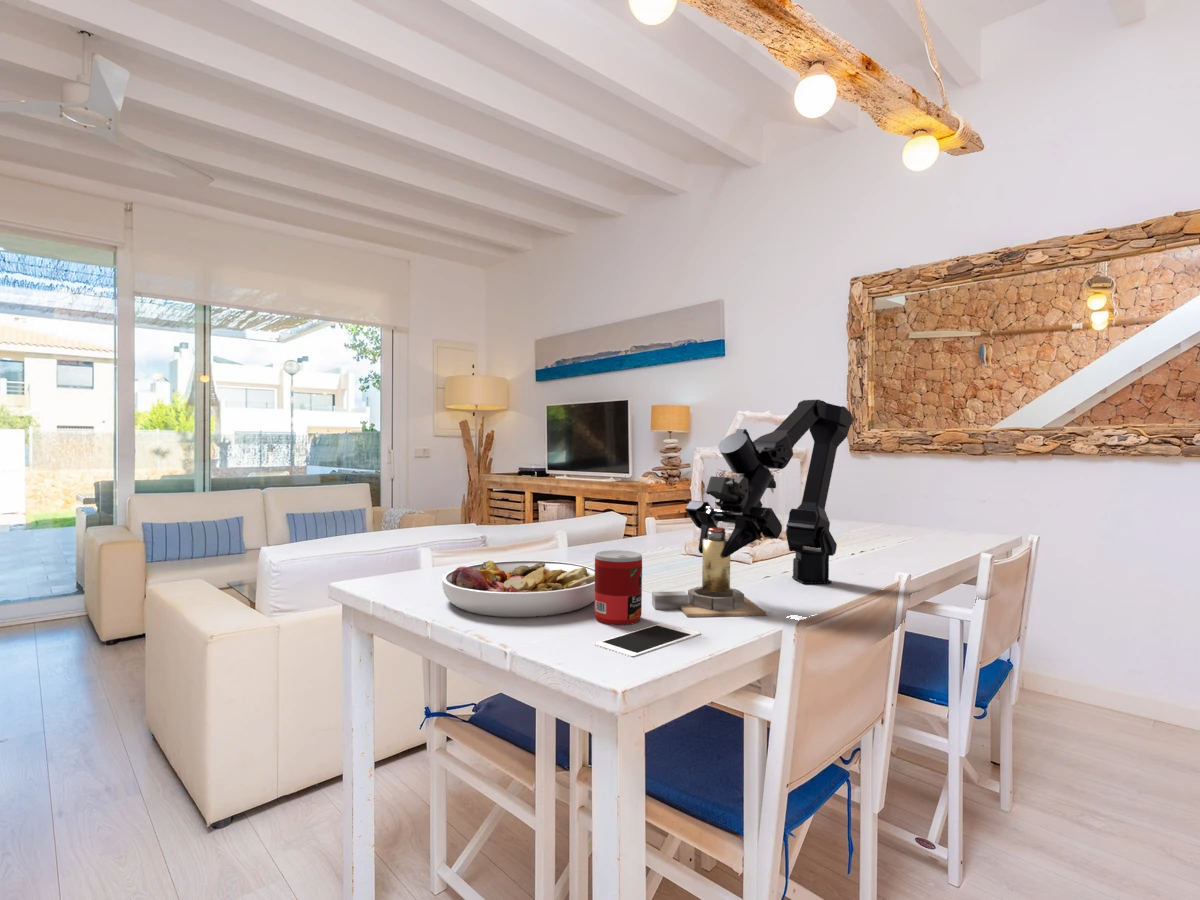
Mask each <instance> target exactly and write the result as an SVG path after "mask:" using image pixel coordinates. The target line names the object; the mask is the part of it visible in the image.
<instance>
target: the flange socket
mask: <svg viewBox="0 0 1200 900" xmlns="http://www.w3.org/2000/svg"><path fill="white" fill-rule="evenodd" d="M651 605H653V606H652V607H653V608H654V610H671V609H672V610H673V609H674V610H676V609H677V610H679V609H680V610H682V611H681V612H682V613H683V614H684V616H686V618H687V617H688V618H691V617H692V618H695V617H696V618H697V617H698V618H700V617H703V618H704V617H706V618H707V617H743V616H744V617H748V616H749V615H759V616H767V611H765V610H764V609H763V608H761V607H759V606H758V604H755V603H754V602H753V601H752V600H750V599H749V598H747V597H746V596H745V593H743V592H742V591H741V590H739V589H737V588H731V587H730V591H727V592H709V591H705V590H703V589H702V586H696V587H694V588H693V587H692V588H690V589H688V590H687V592H686V591H683V590H681V591H680V590H678V591H652V592H651Z"/></svg>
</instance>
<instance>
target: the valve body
mask: <svg viewBox="0 0 1200 900" xmlns="http://www.w3.org/2000/svg"><path fill="white" fill-rule="evenodd" d="M728 539H729V538H726V528H725V527H718V526H717V527H711V528H708V538H705V539H703V553H701V554H702V555H701V556H702V561H701V562H702V563H701V564H702V567H701V568H702V573H701V574H702V575H701V576H702V579H701V580H702V581H701V584H702V585H701V587H702V589H703V590H705V591H709V592H727V591H730V588H731V555H729V556H728V557H723V555H722V552H723V549H724V547H725V545H726V543H727V541H728Z"/></svg>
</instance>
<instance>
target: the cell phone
mask: <svg viewBox="0 0 1200 900" xmlns="http://www.w3.org/2000/svg"><path fill="white" fill-rule="evenodd" d="M700 634H701V635H702V633H701V632H700V631H696V630H692V629H689V628H685V627H681V626H677V625H674V624H670V623H665V622H661V623H657V624H654V625H650V626H647V627H644V628H641V629H638V630H633V631H630V632H628V633H627V632H626V633H623V634H619V635H617V636H613V637H610V638H607V639H603V640H601V641H597V642H595V643H594V646H596V645H597V646H596V647H598V646H600V647H599V648H601V647H603V648H602V649H604V648H605V650H607V649H609V650H608V651H611V650H612V651H611V652H614V651H615V652H614V653H617V652H619V653H618V654H620V653H622V654H621V655H623V654H625V655H624V656H626V655H628V656H627V657H629V656H636V655H639V654H642V653H645V652H648V651H651V652H653V651H652V650H654V651H656V650H655V649H657V650H659V648H660V649H663V648H665V646H666V647H668V646H667V645H669V644H671V645H673V644H672V643H674V644H676V643H675V642H677V643H679V642H678V641H680V642H682V641H681V640H683V641H685V640H684V639H686V640H689V639H692V638H695V637H698V636H701V635H700ZM697 635H698V636H697ZM694 636H695V637H694ZM691 637H692V638H691ZM688 638H689V639H688ZM669 646H670V645H669ZM662 647H663V648H662ZM648 653H649V652H648ZM645 654H646V653H645ZM642 655H643V654H642ZM639 656H640V655H639ZM636 657H637V656H636Z"/></svg>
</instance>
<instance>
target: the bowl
mask: <svg viewBox="0 0 1200 900" xmlns="http://www.w3.org/2000/svg"><path fill="white" fill-rule="evenodd" d="M441 582H442V583H441V584H442V585H441V586H442V590H443V594H444V595H445V597H446V599H447V600H448V601H449V602H450V603H451V604H452V605H453V606H455V607H457V608H459V609H461V610H463V611H466V612H469V613H473V614H477V615H483V616H488V617H499V618H537V617H536V616H539V617H548V616H547V615H549V616H554V615H555V614H556V615H560V614H561V613H562V614H566V612H567V613H570V612H574V610H575V611H577V609H578V610H580V609H582V608H584V607H587V606H589V605H590V604H592V603H593V602H595V567H592V566H588V565H584V564H580V563H573V562H566V561H554V560H553V561H552V560H531V559H530V560H503V561H493V560H487V561H483V563H482V562H481V563H477V564H471V565H470V564H469V565H467V566H458V567H456V568H455V569H452V570H449V571H448V572H446V573H445V574H444V575H443V576H442V581H441ZM556 615H555V616H556Z"/></svg>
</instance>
